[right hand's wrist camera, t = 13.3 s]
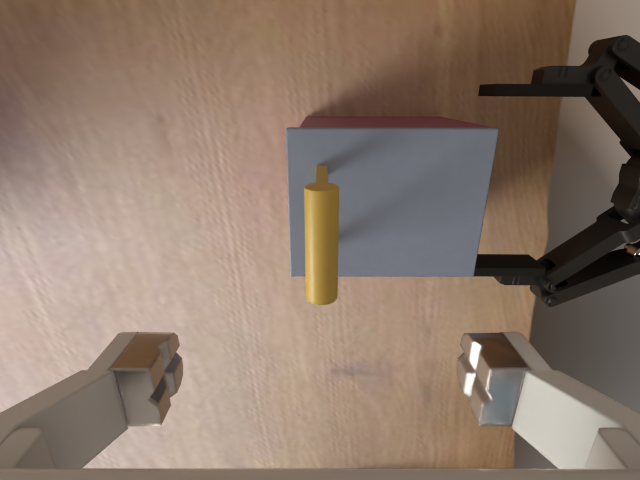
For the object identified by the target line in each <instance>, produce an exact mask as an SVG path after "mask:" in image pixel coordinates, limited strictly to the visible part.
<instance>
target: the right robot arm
mask: <svg viewBox="0 0 640 480" xmlns="http://www.w3.org/2000/svg"><path fill="white" fill-rule="evenodd" d="M178 347H179V340H178V335H176V334H175V333H159V332H140V333H139V332H122V333H119V334H118V335H117V336H116V337H115V338H114V339H113V341H112V342H111V343H110V344H109V345H108V346H107V348H106V349H105V350H104V351H103V352H102V354H101V355H100V356H99V357H98V358H97V359H96V361H95V362H94V363H93V364H92V365H91V367H90V368H89V369H88V370H83V371H79V372H78V373H76V374H74V375H72V376H70V377H68V378H66V379H64V380H62V381H60V382H59V383H57V384H55V385H53V386H51V387H49V388H47V389H45V390H43V391H41V392H39V393H38V394H36V395H34V396H32V397H30V398H28V399H26V400H24V401H22V402H20V403H18V404H17V405H15V406H13V407H11V408H9V409H7V410H5V411H3V412H1V413H0V480H640V413H638V412H637V411H635V410H633V409H631V408H629V407H627V406H625V405H623V404H621V403H619V402H618V401H616V400H614V399H612V398H610V397H608V396H606V395H604V394H602V393H600V392H599V391H597V390H595V389H593V388H591V387H589V386H587V385H585V384H583V383H581V382H579V381H578V380H576V379H574V378H572V377H570V376H568V375H566V374H564V373H562V372H561V371H558V370H552V369H551V368H550V367H549V365H548V364H547V363H546V362H545V361H544V359H543V358H542V357H541V356H540V355H539V354H538V352H537V351H536V350H535V349H534V348H533V347H532V345H531V344H530V343H529V342H528V341H527V339H526V338H525V337H524V336H523V335H522V334H521V333H519V332H500V333H464V334H463V336H462V339H461V347H462V349H463V351H464V353H463V354H462V355H461V356H460V357H459V358H458V363H457V375H458V381H459V384H460V387H461V389H462V391H463V393H464V394H466V395H467V396H469V397H470V403H469V406H470V408H471V410H472V412H473V414H474V416H475V418H476V420H477V422H478V424H479V425H480V426H512V429H513V430H515V431H516V432H517V433H518V434H519V435H520V436H522V437H523V438H524V439H525V440H526V441H527V442H529V443H530V444H531V445H532V446H533V447H534V448H535V449H537V450H538V451H539V452H540V453H541V454H542V455H544V456H545V457H546V458H547V459H548V460H549V461H550V462H552V463H553V464H554V465H555V466H556V467H557V468H559V469H82V468H83V467H84V466H85V465H86V464H87V463H88V462H90V461H91V460H92V459H93V458H94V457H95V456H97V455H98V454H99V453H100V452H101V451H102V450H104V449H105V448H106V447H107V446H108V445H109V444H111V443H112V442H113V441H114V440H115V439H116V438H117V437H119V436H120V435H121V434H122V433H123V432H124V431H126V430H127V429H128V426H159V425H162V422H163V420H164V418H165V416H166V414H167V412H168V410H169V408H170V406H171V403H170V397H171V396H173V395H174V394H176V393H177V391H178V389H179V387H180V385H181V380H182V376H183V362H182V358H181V357H180V356H179V355H178V354H177V353H176V351H177V349H178Z"/></svg>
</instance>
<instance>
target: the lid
mask: <svg viewBox="0 0 640 480" xmlns="http://www.w3.org/2000/svg"><path fill="white" fill-rule="evenodd" d="M498 133H499V129H497V128H326V127H288V128H287V129H286V150H287V181H288V212H289V244H290V275H291V276H306V299H307V300H308V301H309V302H311V303H313V304H317V305H327V304H330V303H333V302H334V301H335V300H336V299H337V284H338V276H348V277H473V276H474V271H475V265H476V259H477V253H478V248H479V242H480V236H481V230H482V225H483V219H484V213H485V207H486V202H487V196H488V190H489V184H490V179H491V173H492V167H493V161H494V156H495V150H496V144H497V138H498Z"/></svg>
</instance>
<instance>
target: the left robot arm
mask: <svg viewBox="0 0 640 480" xmlns="http://www.w3.org/2000/svg"><path fill="white" fill-rule="evenodd" d="M588 54H589V56H588V58H587V60H586V61H585V62H584V63H583V64H582V65H581V66H548V67H541V68H538V69H536V70H534V71H533V76H532V81H531V84H487V85H480V88H479V95H478V96H555V97H585V98H586V99H587V100H588V101H589V103H590V104H591V105H592V106H593V107H594V109H595V110H596V111H597V112H598V113H599V114H600V116H601V117H602V118H603V119H604V120H605V122H606V123H607V124H608V125H609V126H610V128H611V129H612V130H613V131H614V132H615V134H616V135H617V136H618V137H619V138H620V140H621V141H620V144H621V146H622V147H623V148H624V149H625V150H626V152H627V153H628V154H629V155H630V156H631V158H630V159H629V160H628V162H627V163H626V164H622V166H621V170H620V173H619V184H618V186H617V187H616V189H615V191H614V193H613V196H612V199H611V202H612V203H614V206H613V207H612V208H610V209H608V210H607V211H605V212H604V213H602V214H601V215H599V216H598V217H597V221H596V222H595V223H594V224H592V225H591V226H589V227H588V228H586V229H584V230H583V231H581V232H580V233H578V234H577V235H575V236H574V237H572V238H570V239H569V240H567V241H566V242H564V243H563V244H561V245H560V246H558V247H557V248H555V249H553V250H552V251H550V252H549V253H547V254H546V255H544V256H543V257H541V258H539V259H538V260H535V259H534V258H532V257H531V256H530V255H506V254H477V259H476V265H475V271H474V276H494V278H495V279H496V280H497V281H498V282H499V283H501V284H504V285H531V286H530V290H531V292H533V293H534V294H535V295H536V296H537V297H538V298H539V299H540V300H541V301H542V302H543V303H544V304H545V305H547V306H548V307H553V306H556V305H558V304H561V303H564V302H566V301H569V300H572V299H574V298H577V297H580V296H582V295H585V294H587V293H590V292H593V291H595V290H598V289H600V288H603V287H606V286H608V285H611V284H614V283H616V282H619V281H622V280H624V279H627V278H629V277H632V276H635V275H637V274H640V241H639V242H637V243H634V244H630V243H628V244H626V245H625V246H624V249H619V250H615V251H612V250H613V249H615V248H617V247H618V246H620V245H621V244H623V243H627V242H635V241H637V240H638V239H640V102H639V101H638V100H637V99H636V97H635V96H634V95H633V94H632V92H631V91H630V90H629V88H628V87H627V86H626V85H625V83H624V82H623V81H622V80H621V78H622V79H624V80H626V81H627V82H629V83H630V84H632V85H633V86H635V87H636V88H638V89H639V90H640V43H639V42H637V41H636V40H634V39H633V38H631V37H630V36H628V35H623V36H617V37H612V38H607V39H602V40H597V41H595V42H593V43H592V44H591V45H590V47H589V50H588ZM620 77H621V78H620ZM622 219H625V220H626V221H627V222H628V223H629V224H626V223H623V222H621V220H622ZM610 251H611V252H610Z"/></svg>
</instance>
